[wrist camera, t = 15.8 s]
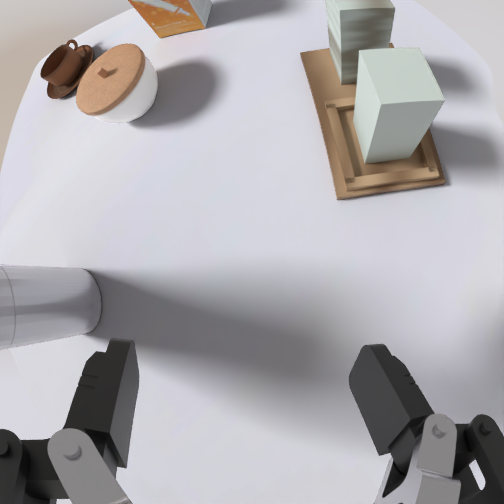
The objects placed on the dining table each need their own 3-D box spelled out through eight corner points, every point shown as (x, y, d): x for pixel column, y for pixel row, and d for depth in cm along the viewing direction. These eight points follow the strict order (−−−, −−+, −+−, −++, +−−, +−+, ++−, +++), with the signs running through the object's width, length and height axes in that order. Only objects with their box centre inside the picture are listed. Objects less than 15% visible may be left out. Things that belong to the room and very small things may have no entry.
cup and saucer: (58, 68, 45) (39, 55, 39) (101, 40, 42) (83, 23, 36) (49, 112, 43) (27, 100, 38) (94, 83, 41) (71, 67, 35)
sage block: (364, 164, 29) (381, 104, 17) (353, 121, 29) (359, 50, 18) (409, 158, 27) (445, 100, 16) (396, 116, 28) (419, 47, 16)
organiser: (337, 199, 30) (341, 152, 18) (301, 57, 32) (283, -19, 19) (442, 184, 27) (497, 137, 15) (391, 47, 29) (402, -27, 17)
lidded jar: (107, 92, 39) (70, 65, 30) (166, 60, 37) (133, 23, 28) (110, 147, 38) (65, 123, 29) (175, 113, 36) (136, 77, 27)
